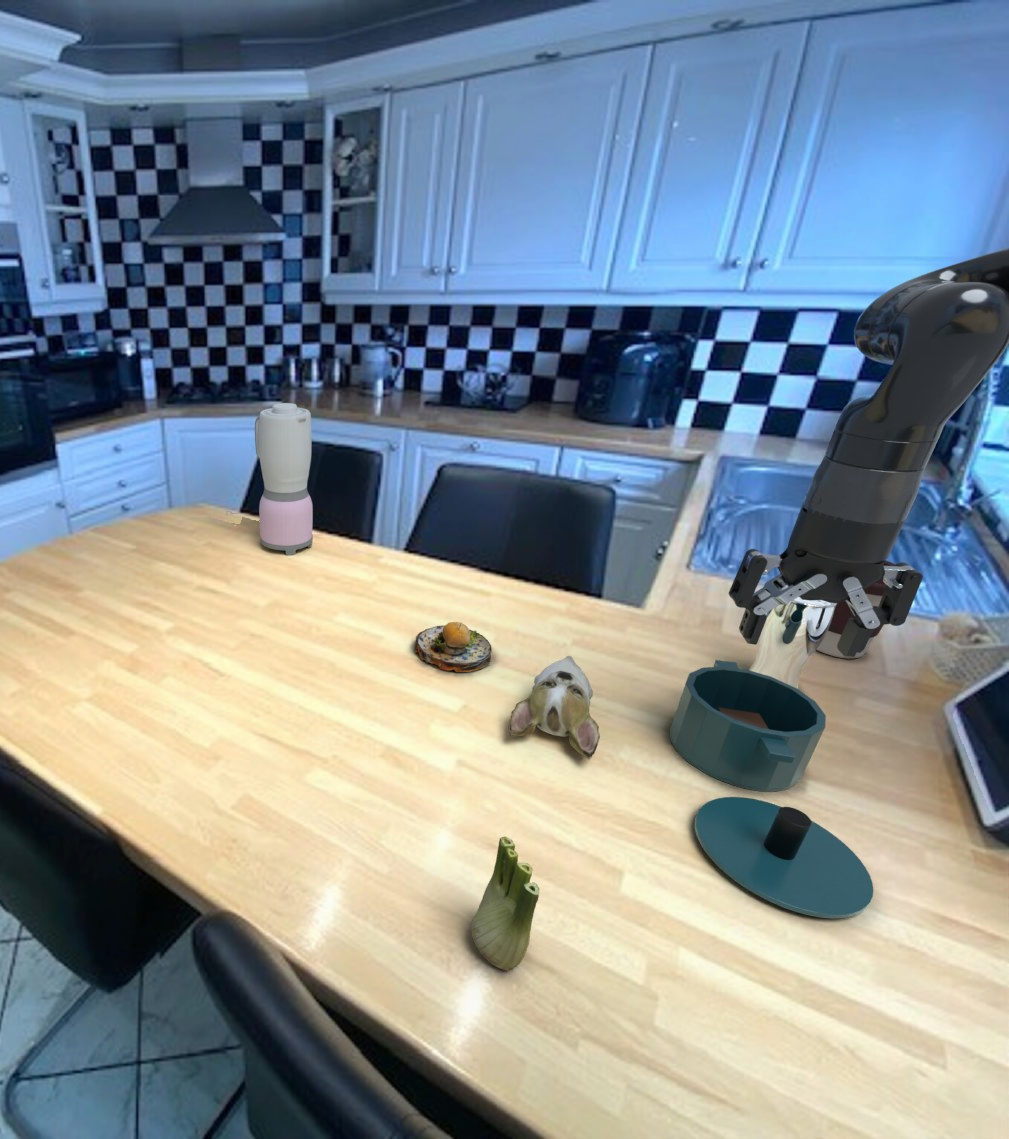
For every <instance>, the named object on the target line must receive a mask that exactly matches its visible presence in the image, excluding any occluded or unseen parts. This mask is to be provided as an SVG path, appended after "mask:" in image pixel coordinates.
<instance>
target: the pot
mask: <svg viewBox="0 0 1009 1139" xmlns="http://www.w3.org/2000/svg"><path fill="white" fill-rule="evenodd" d="M718 707H719V708H726V709H733V710H739V711H746V712H753V713H759V714H760V716H761V717H762V719H763V721H764V722H765V724H766V725H767V727H768V729H764V728H759V727H756V726H753V725H750V724H747V723H744V722H741V721H738V720H735V719H733V718H731V717H729V716H727V715H725V714H723V713H721V712H719V711H718V710H717V708H718ZM826 720H827V715H826V713H825V712H824V710H823V709H822V708H821V707H820V706H819V704H818V703H817V701H815V700H814V699H813V698H811V697H810V696H808V695H807V694H805V693H804V692H803V691H801V690H799V688H798V689H797V688H795V687H793V686H790V685H788V684H786V683H784V682H782V681H779V680H777V679H775V678H773V677H770V676H767V675H763V674H760V673H757V672H753V671H750V670H749V669H745V668H740V667H739V665H738V664H737V662H735V661H727V660H720V659H715V660H714V663H713V666H705V667H700V668H698V669H696V670H694V671H692V672H690V673H688V676H687V679H686V681H685V684H684V687H683V690H682V693H681V696H680V699H679V702H678V705H677V708H676V711H675V714H674V717H673V720H672V723H671V726H670V730H669V739H670V741H671V743H672V746H673V748H674V749H675V751H676V752H677V753H678V754H679V755H680V756H681V757H682V758H683V759H684V760H685V761H686V762H687V763H689V764H690V765H692V766H693V767H694V768H696V769H697V770H699V771H700V772H702V773H704V774H705V775H708V776H709V777H712V778H714V779H716V780H717V781H720V782H723V783H725V784H728V785H731V786H734V787H737V788H741V789H746V790H750V791H756V792H767V793H769V792H770V793H771V792H774V793H775V792H782V791H786V790H789V789H791V788H793V787H794V786H795V785H797V784H798V783H799V781H800V780H802V778H803V776H804V774H805V771H806V770H807V767H808V765H809V763H810V761H811V759H812V757H813V754H814V752H815V750H816V747H817V746H818V743H819V741H820V739H821V737H822V735H823V733H824V731H825V729H826Z"/></svg>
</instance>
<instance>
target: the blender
mask: <svg viewBox="0 0 1009 1139" xmlns="http://www.w3.org/2000/svg"><path fill="white" fill-rule="evenodd" d="M312 434H313V433H312V414H311V412H310V410H309V409H306V408H303V407H298V406H297V404H296V403H291V402H282V403H275V404H273V405H272V407H271V408H266V409H263V410H261V411H260V413H259V415H258V416H257V417H256V418H255V421H254V442H255V443H254V444H255V454H256V457H257V458H258V459H259V463H260V468H261V474H262V479H263V486H264V487H263V488H264V489H263V492H262V496H261V498H260V501H259V507H258V508H259V509H258V512H259V514H258V515H259V516H258V519H259V542H260V545H262V546H263V547H265V548H268V549H270V550H275V551H284V552H285V555H286V556H294V555H296V551H297V550H301V549H305V548H306V547H307V549H311V548H312V547H313V539H314V537H313V536H314V535H313V523H314V522H313V519H314V518H313V516H314V515H313V514H314V512H313V511H314V508H313V507H314V506H313V501H312V498H311V496H310V493H309V491H308V480H309V476H310V470H311V463H312V438H313V436H312Z"/></svg>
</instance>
